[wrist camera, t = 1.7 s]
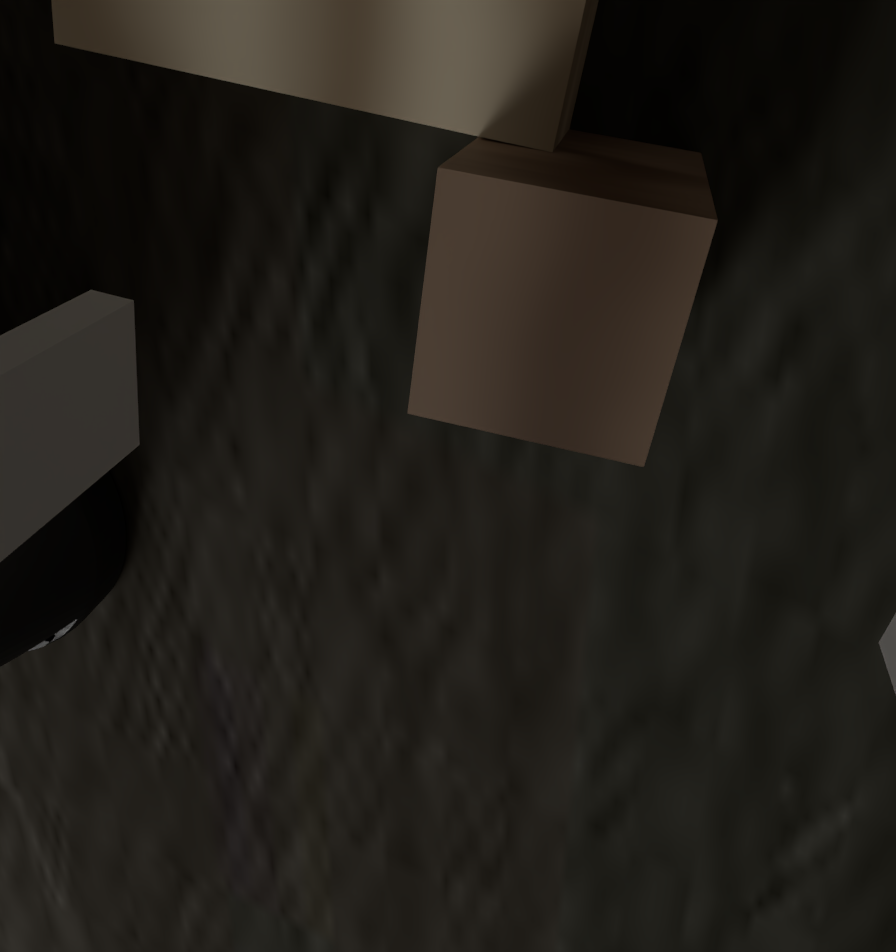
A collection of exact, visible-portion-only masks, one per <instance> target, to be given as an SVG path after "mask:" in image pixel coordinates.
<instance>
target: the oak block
mask: <svg viewBox="0 0 896 952" xmlns="http://www.w3.org/2000/svg"><path fill="white" fill-rule="evenodd" d="M51 1H52V15H53V29H54V42H55V44H60V45H64V46H69V47H74V48H78V49H83V50H87V51H92V52H96V53H101V54H105V55H110V56H115V57H119V58H124V59H128V60H133V61H137V62H142V63H146V64H151V65H156V66H160V67H165V68H169V69H174V70H178V71H183V72H187V73H192V74H197V75H201V76H206V77H210V78H215V79H219V80H224V81H228V82H233V83H238V84H242V85H247V86H251V87H256V88H260V89H265V90H270V91H274V92H279V93H283V94H288V95H292V96H297V97H301V98H306V99H311V100H315V101H320V102H324V103H329V104H333V105H338V106H342V107H347V108H352V109H356V110H361V111H365V112H370V113H374V114H379V115H383V116H388V117H393V118H397V119H402V120H406V121H411V122H415V123H420V124H424V125H429V126H434V127H438V128H443V129H447V130H452V131H456V132H461V133H465V134H470V135H475V136H479V137H484V138H488V139H493V140H497V141H502V142H506V143H511V144H516V145H520V146H525V147H529V148H534V149H538V150H543V151H547V152H553V151H554V150H555V148H556V147H557V145H558V144H559V143H560V141H561V140H562V138H563V137H564V136H565V134H566V133H567V131H568V130H569V128H570V124H571V120H572V115H573V111H574V107H575V102H576V98H577V93H578V89H579V85H580V80H581V76H582V72H583V67H584V63H585V58H586V54H587V50H588V45H589V41H590V37H591V32H592V28H593V23H594V19H595V15H596V10H597V6H598V2H599V0H51Z"/></svg>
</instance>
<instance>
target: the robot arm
mask: <svg viewBox="0 0 896 952" xmlns="http://www.w3.org/2000/svg"><path fill="white" fill-rule="evenodd" d="M139 445H140V442H139V418H138V393H137V368H136V343H135V318H134V300H131V299H127V298H122V297H118V296H114V295H110V294H106V293H102V292H98V291H94V290H89V291H88V292H86V293H84V294H82V295H80V296H78V297H76V298H74V299H72V300H70V301H68V302H66V303H64V304H62V305H60V306H58V307H56V308H54V309H52V310H50V311H48V312H46V313H44V314H42V315H40V316H38V317H36V318H34V319H32V320H30V321H28V322H26V323H24V324H22V325H20V326H18V327H16V328H14V329H12V330H10V331H8V332H6V333H4V334H2V335H0V666H2V665H4V664H6V663H8V662H9V661H11V660H13V659H15V658H16V657H18V656H20V655H21V654H23V653H25V652H27V651H30V650H35V649H38V648H41V647H43V646H46V645H48V644H50V643H52V642H54V641H56V640H58V639H60V638H62V637H63V636H65V635H66V634H68V633H69V632H70V631H72V630H73V629H74V628H76V627H77V626H78V625H79V624H80V623H81V622H82V621H83V620H84V619H85V618H86V617H87V616H88V615H89V614H90V613H91V612H92V611H93V609H94V608H95V607H96V606H97V605H98V604H99V603H100V602H101V601H102V600H103V599H104V598H105V597H106V595H107V594H108V593H109V592H110V591H111V589H112V588H113V586H114V585H115V583H116V581H117V579H118V577H119V575H120V572H121V569H122V566H123V562H124V557H125V550H126V528H125V520H124V514H123V509H122V505H121V502H120V498H119V495H118V492H117V489H116V487H115V484H114V482H113V479H112V477H111V475H110V473H109V470H110V469H111V468H113V467H114V466H115V465H116V464H117V463H119V462H120V461H121V460H122V459H123V458H125V457H126V456H127V455H128V454H129V453H130V452H132V451H133V450H134V449H135V448H136V447H138V446H139ZM879 645H880V648H881V651H882V654H883V657H884V660H885V663H886V666H887V669H888V672H889V675H890V678H891V681H892V684H893V688H894V691H895V694H896V614H895V616H894V617H893V619H892V621H891V622H890V624H889V626H888V628H887V629H886V631H885V633H884V634H883V636H882V638H881V640H880V641H879Z"/></svg>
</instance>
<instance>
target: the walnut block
mask: <svg viewBox="0 0 896 952" xmlns="http://www.w3.org/2000/svg"><path fill="white" fill-rule="evenodd" d="M717 221H718V219H717V215H716V211H715V207H714V203H713V199H712V195H711V191H710V187H709V183H708V179H707V174H706V170H705V166H704V162H703V158H702V154H701V153H699V152H694V151H688V150H683V149H677V148H672V147H666V146H660V145H655V144H649V143H644V142H638V141H633V140H627V139H622V138H616V137H610V136H605V135H599V134H594V133H588V132H583V131H577V130H571V129H569V130H568V131H567V133H566V134H565V136H564V137H563V138H562V140H561V141H560V143H559V144H558V145H557V147H556V148H555V150H554V151H553V152H547V151H543V150H538V149H534V148H529V147H525V146H520V145H516V144H511V143H506V142H502V141H497V140H493V139H488V138H484V137H478V138H477V139H475V140H474V141H473V142H471V143H470V144H469V145H467V146H466V147H465V148H463V149H462V150H461V151H459V152H458V153H457V154H455V155H454V156H453V157H451V158H450V159H448V160H447V161H446V162H444V163H443V164H442V165H440V166H439V167H438V171H437V179H436V187H435V195H434V203H433V211H432V219H431V227H430V235H429V244H428V252H427V260H426V268H425V276H424V284H423V292H422V300H421V308H420V317H419V325H418V333H417V341H416V349H415V357H414V365H413V373H412V381H411V390H410V398H409V406H408V414H412V415H416V416H421V417H425V418H430V419H434V420H438V421H443V422H447V423H452V424H456V425H460V426H465V427H469V428H474V429H478V430H483V431H487V432H491V433H496V434H500V435H505V436H509V437H513V438H518V439H522V440H527V441H531V442H535V443H540V444H544V445H549V446H553V447H558V448H562V449H566V450H571V451H575V452H580V453H584V454H588V455H593V456H597V457H602V458H606V459H611V460H615V461H619V462H624V463H628V464H633V465H637V466H641V467H644V465H645V461H646V458H647V455H648V451H649V448H650V445H651V441H652V438H653V435H654V431H655V428H656V425H657V421H658V418H659V415H660V411H661V408H662V405H663V401H664V398H665V395H666V391H667V388H668V385H669V381H670V378H671V375H672V371H673V368H674V364H675V361H676V358H677V354H678V351H679V348H680V344H681V341H682V338H683V334H684V331H685V328H686V324H687V321H688V318H689V314H690V311H691V308H692V304H693V301H694V298H695V294H696V291H697V288H698V284H699V281H700V278H701V274H702V271H703V268H704V264H705V261H706V258H707V254H708V251H709V248H710V244H711V241H712V238H713V234H714V231H715V228H716V224H717Z"/></svg>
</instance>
